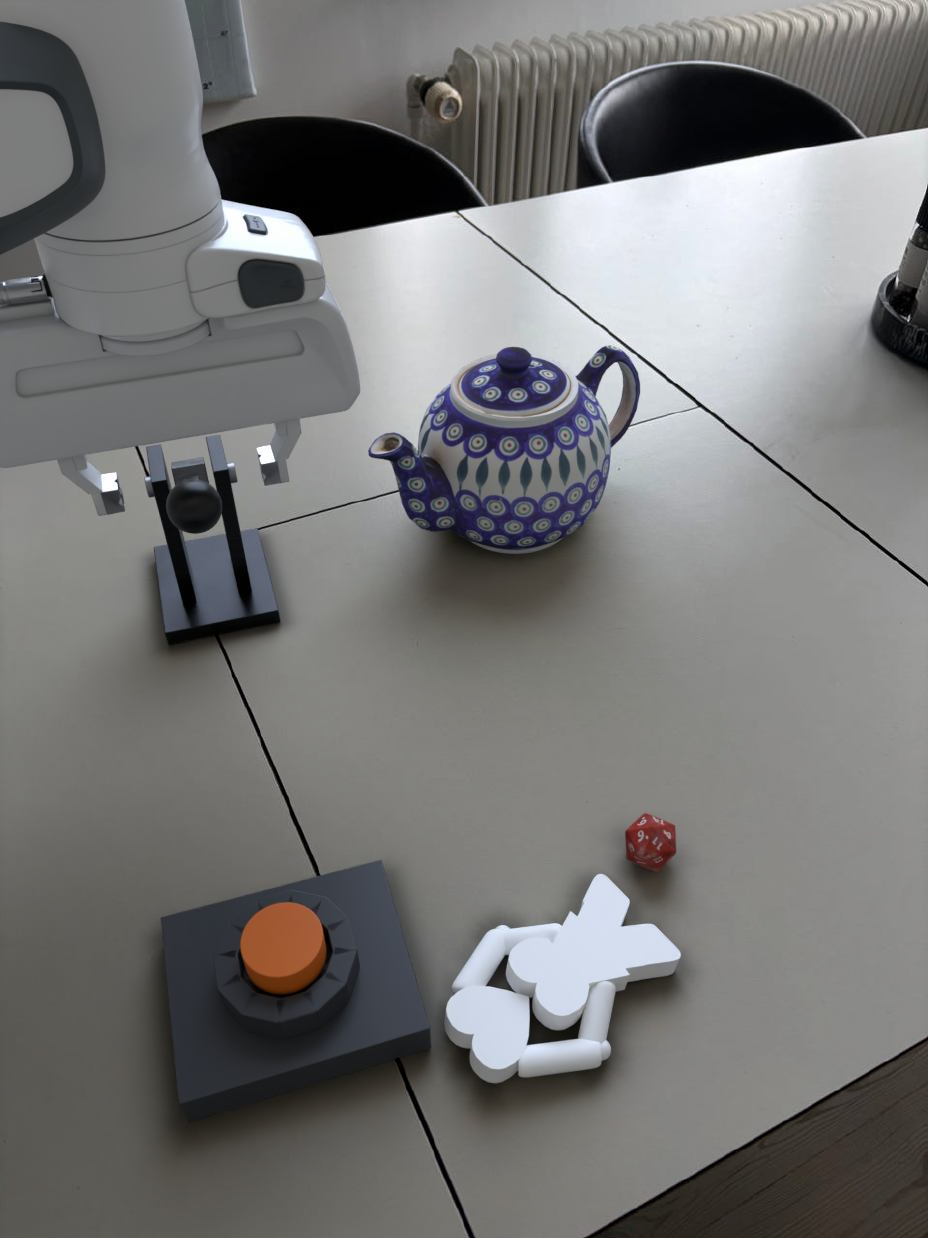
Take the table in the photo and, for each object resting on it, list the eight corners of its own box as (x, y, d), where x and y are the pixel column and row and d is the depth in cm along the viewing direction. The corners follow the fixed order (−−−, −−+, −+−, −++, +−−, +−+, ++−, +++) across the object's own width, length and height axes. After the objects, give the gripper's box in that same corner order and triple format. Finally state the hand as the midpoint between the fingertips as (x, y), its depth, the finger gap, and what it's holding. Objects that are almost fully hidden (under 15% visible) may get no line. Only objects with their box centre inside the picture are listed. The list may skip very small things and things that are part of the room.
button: (251, 1005, 48) (246, 987, 47) (240, 932, 51) (234, 914, 50) (333, 981, 49) (330, 964, 48) (317, 911, 52) (314, 893, 50)
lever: (228, 533, 59) (217, 479, 58) (172, 543, 58) (160, 489, 57) (219, 494, 71) (209, 449, 70) (172, 503, 70) (162, 457, 69)
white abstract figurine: (410, 987, 52) (413, 964, 50) (581, 879, 58) (587, 856, 57) (519, 1132, 47) (524, 1111, 45) (693, 997, 53) (703, 975, 51)
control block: (187, 1123, 48) (170, 1088, 45) (168, 938, 55) (153, 898, 52) (431, 1048, 50) (429, 1011, 47) (383, 881, 57) (379, 840, 54)
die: (680, 847, 59) (688, 817, 57) (662, 888, 57) (669, 858, 55) (633, 827, 60) (639, 797, 58) (613, 866, 58) (619, 836, 56)
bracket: (280, 622, 73) (257, 489, 65) (168, 645, 71) (129, 511, 63) (259, 539, 80) (236, 410, 72) (156, 558, 78) (120, 428, 70)
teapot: (578, 428, 91) (592, 271, 81) (688, 513, 82) (719, 347, 72) (331, 518, 82) (312, 352, 71) (424, 625, 72) (418, 452, 62)
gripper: (-95, 323, 45) (6, 561, 54) (355, 261, 49) (375, 492, 58) (-82, 265, 49) (9, 494, 59) (329, 213, 53) (352, 435, 63)
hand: (194, 493), depth 59 cm, fingers open, 8 cm apart
